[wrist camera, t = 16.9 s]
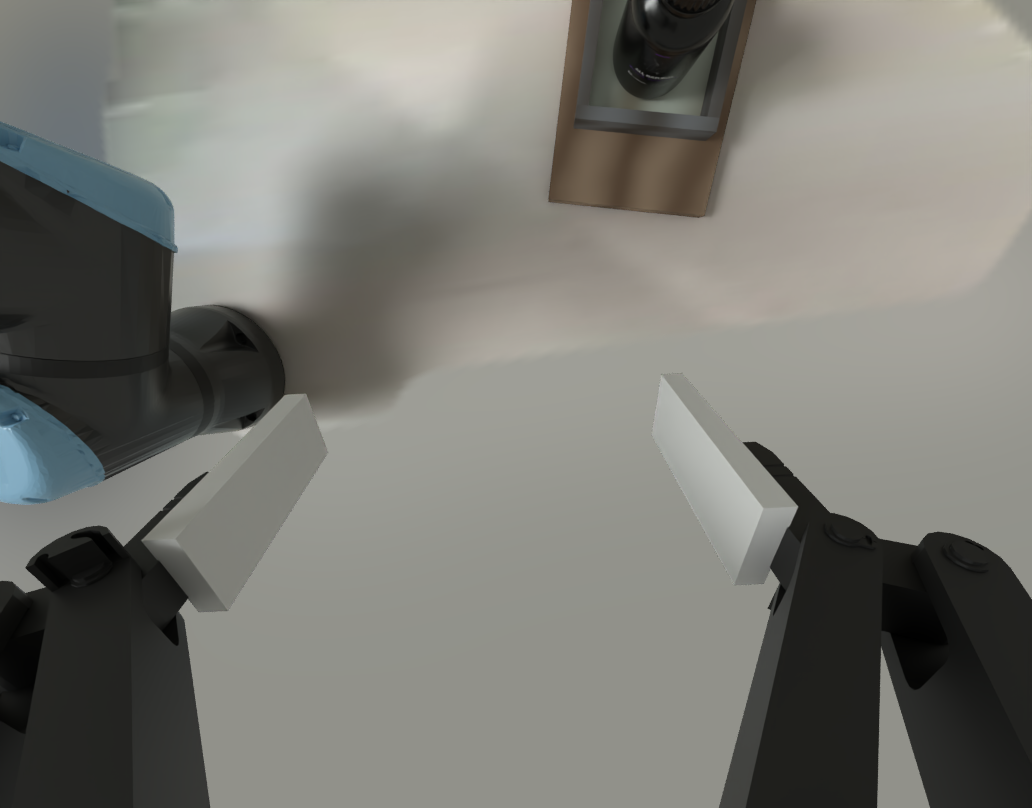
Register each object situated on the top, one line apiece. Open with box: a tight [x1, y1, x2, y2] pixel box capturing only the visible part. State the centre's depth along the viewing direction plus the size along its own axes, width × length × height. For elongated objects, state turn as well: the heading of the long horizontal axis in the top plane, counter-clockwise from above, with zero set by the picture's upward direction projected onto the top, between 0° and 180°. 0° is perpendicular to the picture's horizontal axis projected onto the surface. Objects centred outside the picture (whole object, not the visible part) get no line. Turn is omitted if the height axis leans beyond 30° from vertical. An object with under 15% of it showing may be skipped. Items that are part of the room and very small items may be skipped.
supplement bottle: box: [613, 0, 734, 99], centre depth 28 cm, size 7×7×12 cm
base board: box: [548, 0, 756, 218], centre depth 34 cm, size 15×20×4 cm
